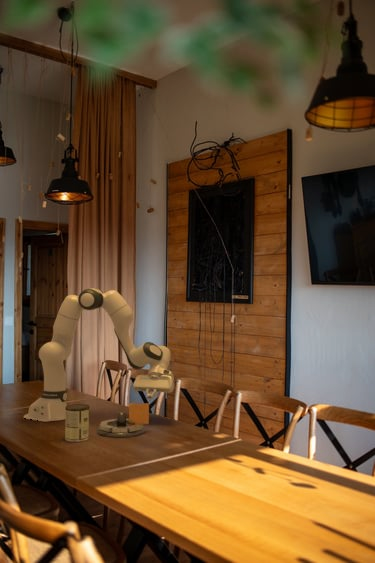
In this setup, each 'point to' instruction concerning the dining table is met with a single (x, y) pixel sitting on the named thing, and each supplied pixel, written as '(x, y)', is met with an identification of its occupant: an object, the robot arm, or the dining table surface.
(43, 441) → the dining table surface
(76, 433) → the coffee can
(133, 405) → the curved stand with block
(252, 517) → the dining table surface
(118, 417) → the grey disc with peg
